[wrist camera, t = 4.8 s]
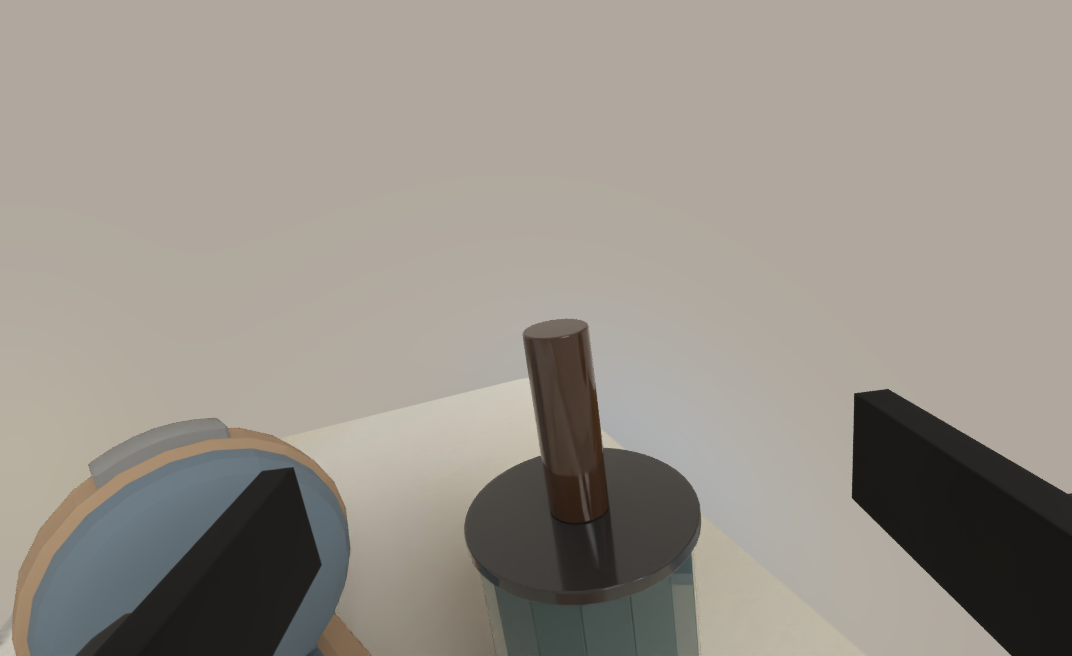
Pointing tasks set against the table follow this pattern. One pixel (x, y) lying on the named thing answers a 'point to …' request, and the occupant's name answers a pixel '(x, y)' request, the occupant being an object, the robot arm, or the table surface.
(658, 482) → the lid
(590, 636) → the jar
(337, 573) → the alarm clock
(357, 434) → the table surface
